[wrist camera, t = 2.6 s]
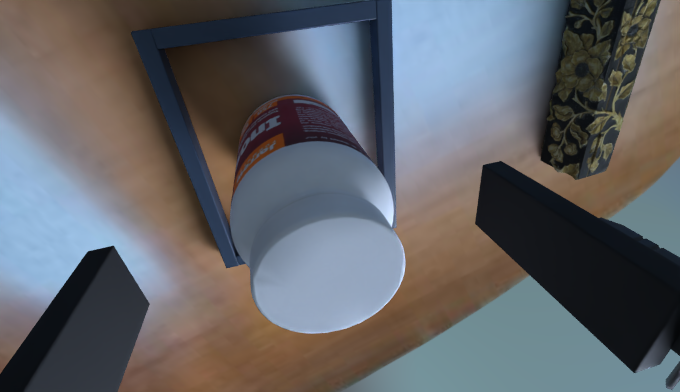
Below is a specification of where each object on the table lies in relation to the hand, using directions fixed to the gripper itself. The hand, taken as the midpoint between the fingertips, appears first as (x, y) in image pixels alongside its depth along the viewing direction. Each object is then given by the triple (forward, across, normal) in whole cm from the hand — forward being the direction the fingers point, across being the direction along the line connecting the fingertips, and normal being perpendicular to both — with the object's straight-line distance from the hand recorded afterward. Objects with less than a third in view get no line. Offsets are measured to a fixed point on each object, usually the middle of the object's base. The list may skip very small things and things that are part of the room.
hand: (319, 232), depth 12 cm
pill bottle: (+9, 0, 0) cm, 9 cm away
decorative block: (+9, +18, +3) cm, 20 cm away
